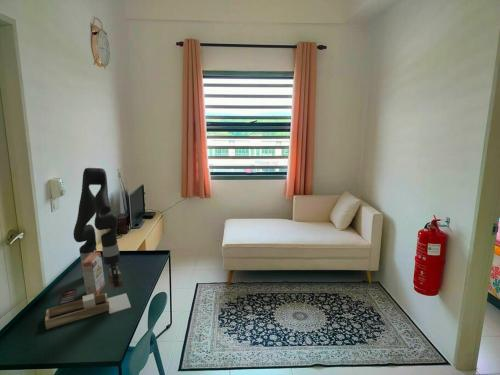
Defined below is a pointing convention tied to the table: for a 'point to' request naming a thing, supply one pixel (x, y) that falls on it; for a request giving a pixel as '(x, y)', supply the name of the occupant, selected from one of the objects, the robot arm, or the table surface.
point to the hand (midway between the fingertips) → (115, 284)
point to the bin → (75, 315)
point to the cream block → (88, 301)
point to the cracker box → (93, 274)
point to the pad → (118, 303)
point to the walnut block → (112, 280)
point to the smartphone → (68, 297)
